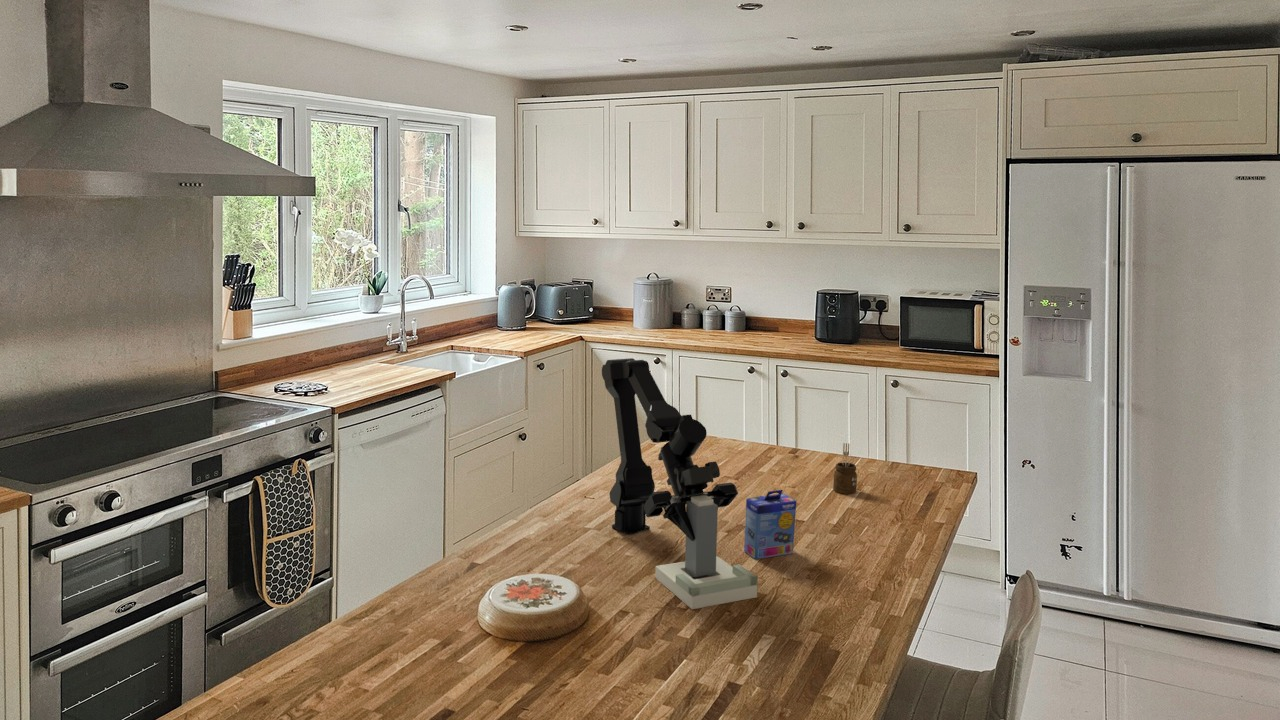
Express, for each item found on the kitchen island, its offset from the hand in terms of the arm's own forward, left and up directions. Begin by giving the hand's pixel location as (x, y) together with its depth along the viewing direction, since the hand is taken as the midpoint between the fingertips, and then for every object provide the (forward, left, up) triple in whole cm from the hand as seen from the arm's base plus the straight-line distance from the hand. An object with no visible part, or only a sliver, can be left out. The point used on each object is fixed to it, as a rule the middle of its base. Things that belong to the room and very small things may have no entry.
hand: (704, 538), depth 190 cm
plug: (0, -1, -7) cm, 7 cm away
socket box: (0, +1, -10) cm, 10 cm away
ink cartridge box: (-23, -4, -10) cm, 26 cm away
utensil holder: (-71, -22, -10) cm, 75 cm away
